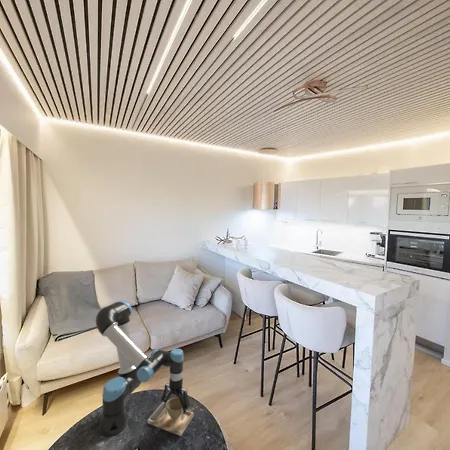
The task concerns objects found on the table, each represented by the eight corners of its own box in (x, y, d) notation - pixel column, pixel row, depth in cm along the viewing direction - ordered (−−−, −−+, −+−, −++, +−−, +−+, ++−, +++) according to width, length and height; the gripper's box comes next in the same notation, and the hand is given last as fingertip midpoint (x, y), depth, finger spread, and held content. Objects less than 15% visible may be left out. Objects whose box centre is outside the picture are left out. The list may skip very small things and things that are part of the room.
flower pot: (163, 421, 137) (163, 408, 137) (170, 407, 147) (171, 396, 147) (179, 424, 135) (180, 412, 135) (186, 410, 145) (186, 399, 145)
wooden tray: (147, 423, 139) (147, 418, 138) (162, 405, 152) (162, 401, 152) (180, 436, 131) (180, 431, 131) (193, 416, 145) (193, 411, 145)
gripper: (155, 376, 141) (154, 414, 141) (190, 387, 133) (189, 427, 133) (163, 369, 148) (162, 405, 148) (196, 378, 140) (195, 416, 140)
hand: (174, 415), depth 141 cm, fingers closed on flower pot, 10 cm apart
